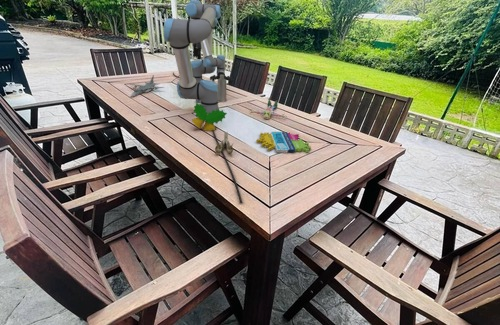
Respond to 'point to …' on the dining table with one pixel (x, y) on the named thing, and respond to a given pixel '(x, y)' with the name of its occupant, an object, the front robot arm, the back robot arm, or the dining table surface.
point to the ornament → (207, 117)
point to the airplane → (145, 87)
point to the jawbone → (224, 145)
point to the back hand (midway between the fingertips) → (221, 81)
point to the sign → (283, 142)
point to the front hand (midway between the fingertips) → (197, 57)
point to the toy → (269, 111)
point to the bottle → (221, 89)
